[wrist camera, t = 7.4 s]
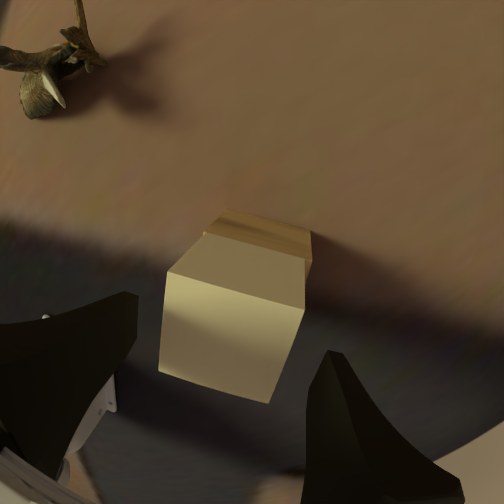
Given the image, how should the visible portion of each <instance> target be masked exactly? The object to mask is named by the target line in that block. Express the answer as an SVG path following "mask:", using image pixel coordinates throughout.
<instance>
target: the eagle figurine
mask: <svg viewBox="0 0 504 504" xmlns="http://www.w3.org/2000/svg"><path fill="white" fill-rule="evenodd" d="M74 4H75V17H76V21H77V27H75V26H73V27H70V28H67V29H61V30H59V32H60V33H61V34H62V35H63V36H64V37H65V38H66V39H67V40H68V41H67V42H65V43H57V44H56V45H54V46H53V47H51V48H48V49H46V50H44V51H42V52H39V53H25V52H23V51H20V50H12V49H11V48H9V47H6V46H0V68H2V69H5V70H9V71H17V72H25V75H24V77H23V78H22V80H23V83H22V84H21V85H20V97H21V100H20V103H21V104H22V105H23V110H24V111H25V115H26V116H27V117H28V118H29V119H31V120H32V119H34V118H36V117H38V116H41V115H43V116H44V115H48V114H49V113H50V112H51V110H53V109H54V105H55V103H54V102H53V100H54V98H55V99H56V100H57V101H58V102H59V103H60V104H61V105H62V106H63V108H66V104H65V100H64V98H63V96H62V95H61V93H60V92H59V91H58V82H59V81H61V80H62V79H63V78H64V77H66V76H68V75H71V74H73V73H74V72H75V71H77V70H79V69H81V68H82V67H83V66H85V69H86V71H87V72H88V73H91V72H92V70H93V67H92V65H91V64H93V65H102V66H106V64H107V63H106V61H105V60H103V59H102V58H100V57H99V54H98V53H97V52H96V51H95V49H94V46H93V44H92V42H91V40H90V38H89V35H88V30H87V24H86V19H85V14H84V9H83V3H82V1H81V0H74ZM73 53H74V54H73ZM70 55H71V56H70ZM69 57H70V58H69ZM68 58H69V61H68V62H64V61H65V60H66V59H68Z"/></svg>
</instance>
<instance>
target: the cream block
mask: <svg viewBox="0 0 504 504" xmlns="http://www.w3.org/2000/svg"><path fill="white" fill-rule="evenodd" d="M304 311H305V259H304V258H300V257H296V256H293V255H289V254H285V253H282V252H278V251H274V250H271V249H267V248H263V247H259V246H256V245H252V244H248V243H245V242H241V241H237V240H233V239H230V238H226V237H222V236H219V235H215V234H211V233H207V232H206V233H205V234H204V235H203V236H202V237H201V238H200V239H199V240H198V241H197V242H196V243H195V244H194V245H193V246H192V247H191V248H190V249H189V250H188V251H187V252H186V253H185V254H184V255H183V256H182V257H181V258H180V259H179V260H178V261H177V262H176V263H175V264H174V265H173V266H172V267H171V268H170V269H169V270H168V272H167V280H166V289H165V298H164V308H163V318H162V329H161V341H160V355H159V370H158V371H161V372H164V373H166V374H169V375H172V376H175V377H178V378H181V379H184V380H187V381H190V382H193V383H196V384H199V385H202V386H206V387H209V388H212V389H215V390H219V391H222V392H226V393H229V394H233V395H236V396H240V397H244V398H248V399H252V400H256V401H260V402H264V403H269V401H270V398H271V396H272V394H273V391H274V389H275V386H276V384H277V381H278V379H279V377H280V374H281V372H282V369H283V367H284V364H285V361H286V359H287V356H288V354H289V351H290V349H291V346H292V343H293V341H294V338H295V335H296V333H297V330H298V327H299V325H300V322H301V319H302V317H303V314H304Z"/></svg>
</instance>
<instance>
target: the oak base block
mask: <svg viewBox="0 0 504 504" xmlns="http://www.w3.org/2000/svg"><path fill="white" fill-rule="evenodd" d="M206 232H207V233H211V234H215V235H219V236H222V237H226V238H230V239H233V240H237V241H241V242H245V243H248V244H252V245H256V246H259V247H263V248H267V249H271V250H274V251H278V252H282V253H285V254H289V255H293V256H296V257H300V258H304V259H305V282H306V279H307V276H308V273H309V270H310V267H311V264H312V248H311V236H310V230H306V229H303V228H299V227H295V226H292V225H288V224H284V223H281V222H277V221H273V220H270V219H266V218H262V217H258V216H254V215H251V214H247V213H243V212H239V211H235V210H231V209H227V210H226V211H225V212H224V213H223V214H222V215H221V216H220V217H219V218H218V219H217V220H215V221H214V222H213V223H212V224H211V225H210V226H209V227H208V228H207V229H206V230H205V231H204V233H203V235H204V234H205V233H206Z"/></svg>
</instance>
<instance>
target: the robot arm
mask: <svg viewBox="0 0 504 504" xmlns="http://www.w3.org/2000/svg"><path fill="white" fill-rule="evenodd" d="M138 298H139V296H137V295H134V294H132V293H129V292H126V291H124V292H120V293H117V294H115V295H112V296H109V297H107V298H104V299H102V300H99V301H96V302H94V303H91V304H89V305H86V306H83V307H80V308H77V309H74V310H71V311H68V312H65V313H62V314H59V315H56V316H52V317H50V316H48V315H44V316H43V317H42V319H39V320H34V321H28V322H20V323H13V324H0V504H96V503H94V502H92V501H90V500H88V499H86V498H84V497H82V496H80V495H78V494H77V493H75V492H73V491H71V490H69V489H68V488H66V486H67V484H68V481H69V478H70V464H69V461H68V460H67V459H66V458H65V457H66V455H67V454H71V453H73V452H75V451H77V450H79V449H80V448H81V447H82V446H83V445H84V443H85V442H86V440H87V438H88V437H89V435H90V434H91V432H92V431H93V429H94V428H95V426H96V425H97V423H98V422H99V420H100V419H101V417H102V416H103V414H104V413H105V411H106V410H109V411H111V412H116V410H117V405H116V395H115V385H114V372H115V371H116V370H117V368H118V367H119V366H120V364H121V363H122V362H123V361H124V359H125V358H126V356H127V355H128V353H129V351H130V349H131V348H132V346H133V344H134V342H135V340H136V339H137V318H138ZM464 502H465V498H464V495H463V490H462V486H461V483H460V480H459V479H458V478H457V477H455V476H454V475H452V474H450V473H449V472H447V471H445V470H444V469H442V468H440V467H439V466H437V465H436V464H434V463H433V462H432V461H431V460H429V459H428V458H427V457H425V456H424V455H423V454H421V453H420V452H419V451H418V450H417V449H415V448H414V447H413V446H412V445H411V444H410V443H409V442H408V441H407V440H406V439H405V438H404V437H403V436H402V435H401V434H400V433H399V432H398V431H397V430H396V429H395V428H394V427H393V426H392V425H391V423H390V422H389V421H388V420H387V419H386V418H385V416H384V415H383V414H382V413H381V411H380V410H379V409H378V407H377V406H376V405H375V403H374V402H373V400H372V399H371V398H370V396H369V395H368V393H367V392H366V390H365V389H364V387H363V385H362V384H361V382H360V381H359V379H358V377H357V376H356V374H355V372H354V371H353V369H352V367H351V366H350V364H349V362H348V361H347V359H346V358H345V356H344V354H343V353H339V352H334V351H330V350H327V352H326V354H325V356H324V358H323V360H322V362H321V364H320V367H319V369H318V371H317V373H316V375H315V377H314V379H313V381H312V383H311V385H310V387H309V391H308V399H307V408H306V471H305V478H304V485H303V492H302V497H301V503H300V504H464Z"/></svg>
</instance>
